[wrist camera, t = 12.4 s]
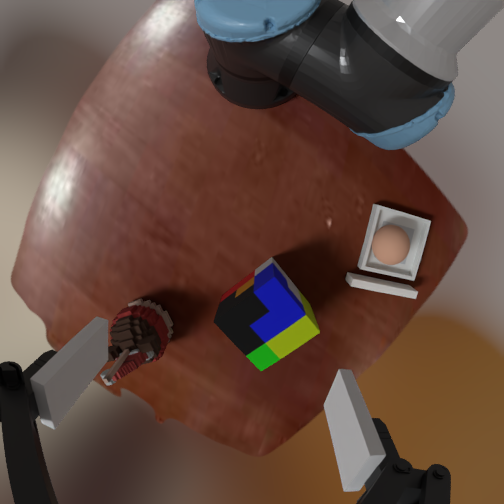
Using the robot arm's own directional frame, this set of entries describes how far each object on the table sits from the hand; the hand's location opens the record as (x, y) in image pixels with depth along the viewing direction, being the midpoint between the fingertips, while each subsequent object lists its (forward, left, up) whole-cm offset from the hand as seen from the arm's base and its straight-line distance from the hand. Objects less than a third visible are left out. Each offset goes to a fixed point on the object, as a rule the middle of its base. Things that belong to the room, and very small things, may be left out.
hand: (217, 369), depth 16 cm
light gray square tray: (-6, +23, -33) cm, 40 cm away
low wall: (+2, +23, -33) cm, 40 cm away
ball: (-5, +23, -31) cm, 39 cm away
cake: (+17, -14, -33) cm, 40 cm away
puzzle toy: (+8, +5, -33) cm, 34 cm away
